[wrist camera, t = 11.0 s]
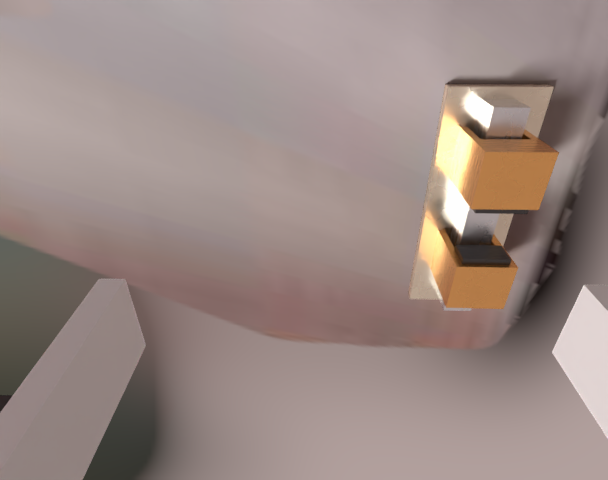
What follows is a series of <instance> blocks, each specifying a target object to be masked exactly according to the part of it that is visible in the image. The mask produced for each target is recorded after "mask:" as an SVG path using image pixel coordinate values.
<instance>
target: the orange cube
mask: <svg viewBox="0 0 608 480" xmlns="http://www.w3.org/2000/svg"><path fill="white" fill-rule="evenodd" d="M430 269H431V271H432V274H433V276H434V279H435V281H436V284H437V286H438V289H439V291H440V294H441V296H442V299H443V301H444V304H445V306H446V308H488V309H503V308H504V306H505V303H506V300H507V297H508V295H509V292H510V289H511V286H512V284H513V281H514V278H515V275H516V272H517V270H518V267H517V266H516V264H515V263H514V261H513V260H512V259H511V257H510V256H509V254H508V253H507V252H506V250H505V249H504V247H503V246H502V245H501V243H500V242H499V240H498V239H497V238H496V236H495V235H494V234H493V238H492V241H491V245H456V246H455V248H454V246H453V244H452V242H451V241H450V239H449V237H448V235H447V233H446V231H445V230H438V235H437V240H436V244H435V249H434V254H433V258H432V263H431V268H430Z"/></svg>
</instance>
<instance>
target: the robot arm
mask: <svg viewBox="0 0 608 480" xmlns="http://www.w3.org/2000/svg"><path fill="white" fill-rule="evenodd" d="M145 346H146V344H145V341H144V338H143V335H142V331H141V328H140V325H139V322H138V319H137V315H136V312H135V309H134V306H133V303H132V299H131V296H130V293H129V290H128V286H127V283H126V280H125V279H99V280H98V281H97V283H96V284H95V285H94V286H93V288H92V289H91V290H90V292H89V294H88V295H87V296H86V297H85V299H84V300H83V301H82V303H81V304H80V305H79V307H78V308H77V309H76V311H75V312H74V314H73V315H72V316H71V318H70V319H69V320H68V322H67V323H66V324H65V326H64V327H63V328H62V330H61V331H60V332H59V334H58V335H57V336H56V338H55V339H54V341H53V342H52V343H51V345H50V346H49V347H48V349H47V350H46V352H45V353H44V354H43V356H42V357H41V358H40V360H39V361H38V362H37V363H36V365H35V366H34V368H33V369H32V370H31V372H30V373H29V374H28V376H27V377H26V378H25V380H24V381H23V382H22V384H21V385H20V387H19V388H18V389H17V391H16V392H15V393H14V395H13V396H10V395H0V480H82V479H83V477H84V475H85V473H86V471H87V469H88V466H89V465H90V462H91V460H92V458H93V456H94V454H95V452H96V449H97V448H98V445H99V443H100V441H101V439H102V437H103V435H104V433H105V431H106V429H107V426H108V424H109V422H110V420H111V418H112V416H113V414H114V412H115V409H116V408H117V405H118V403H119V401H120V399H121V397H122V395H123V392H124V391H125V388H126V386H127V384H128V382H129V380H130V378H131V375H132V373H133V372H134V369H135V367H136V365H137V363H138V361H139V359H140V357H141V355H142V353H143V350H144V348H145ZM552 353H553V355H554V356H555V358H556V359H557V361H558V362H559V364H560V365H561V367H562V369H563V370H564V371H565V373H566V375H567V376H568V378H569V380H570V381H571V383H572V384H573V386H574V387H575V389H576V390H577V392H578V394H579V395H580V397H581V398H582V400H583V401H584V403H585V404H586V406H587V408H588V409H589V410H590V412H591V414H592V415H593V417H594V418H595V420H596V422H597V423H598V425H599V426H600V428H601V429H602V431H603V432H604V434H605V435H606V437H607V439H608V285H584V286H583V288H582V290H581V292H580V294H579V296H578V298H577V301H576V303H575V305H574V307H573V309H572V311H571V313H570V315H569V317H568V320H567V322H566V324H565V326H564V328H563V330H562V332H561V334H560V336H559V338H558V341H557V343H556V345H555V347H554V349H553V351H552Z"/></svg>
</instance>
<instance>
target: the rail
mask: <svg viewBox="0 0 608 480" xmlns="http://www.w3.org/2000/svg"><path fill="white" fill-rule="evenodd" d="M553 89H554V87H553V86H551V85H548V84H445V89H444V94H443V100H442V106H441V111H440V117H439V123H438V128H437V134H436V139H435V145H434V151H433V156H432V162H431V168H430V173H429V179H428V184H427V190H426V196H425V201H424V207H423V213H422V218H421V224H420V229H419V235H418V241H417V246H416V252H415V258H414V263H413V269H412V275H411V280H410V286H409V291H408V295H409V298H410V299H439V300H440V302H441V305H442V308H443V310H456V311H471V309H472V308H446V306H445V304H444V301H443V299H442V296H441V294H440V291H439V289H438V286H437V284H436V281H435V279H434V276H433V274H432V271H431V269H430V268H431V263H432V258H433V254H434V249H435V244H436V240H437V235H438V230H445V231H446V233H447V235H448V237H449V239H450V241H451V242H452V244H453V246H454V248H455V246H456V245H491V241H492V238H493V234H494V235H495V236H496V238H497V239H498V240H499V242H500V243H501V245H502V246H504V243H505V240H506V237H507V234H508V230H509V227H510V224H511V221H512V218H513V215H514V214H527V213H528V210H539V207H540V205H541V202H542V199H543V196H544V193H545V190H546V188H547V185H548V182H549V179H550V176H551V173H552V171H553V168H554V165H555V162H556V159H557V156H558V154H559V152H557V151H556V150H554V149H553V148H552V147H550V146H549V145H547V144H546V143H544V142H543V141H541V140H540V139H538V136H539V133H540V130H541V126H542V123H543V120H544V117H545V114H546V111H547V107H548V104H549V101H550V98H551V95H552V92H553Z"/></svg>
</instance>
